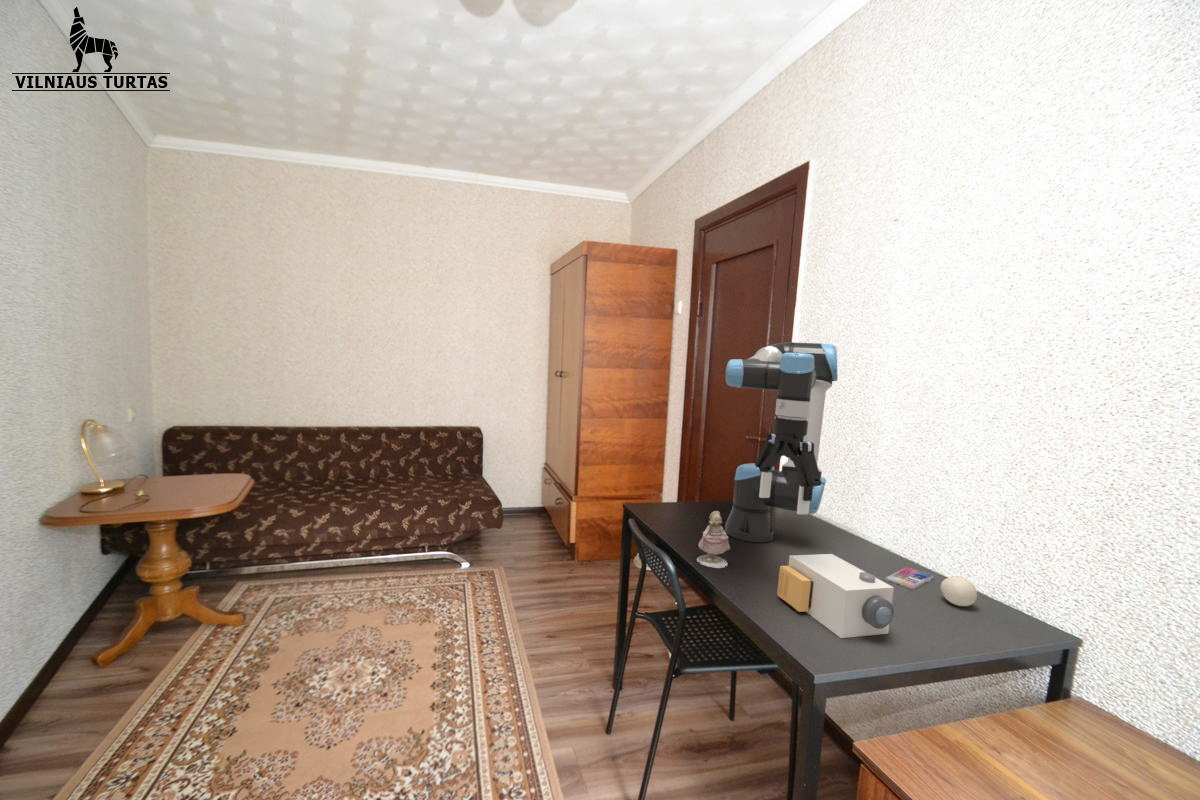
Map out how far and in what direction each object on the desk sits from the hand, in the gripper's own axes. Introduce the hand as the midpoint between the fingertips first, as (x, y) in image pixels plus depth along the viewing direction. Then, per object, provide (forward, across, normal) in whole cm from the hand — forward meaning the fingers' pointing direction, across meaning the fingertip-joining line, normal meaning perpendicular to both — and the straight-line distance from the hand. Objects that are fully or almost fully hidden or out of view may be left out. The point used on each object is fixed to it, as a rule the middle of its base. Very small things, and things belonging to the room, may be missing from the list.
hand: (782, 505), depth 119 cm
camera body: (+21, +14, +6) cm, 26 cm away
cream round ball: (+21, +15, +42) cm, 49 cm away
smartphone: (+22, +1, +44) cm, 49 cm away
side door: (+21, +8, -1) cm, 23 cm away
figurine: (+21, -18, -7) cm, 29 cm away
